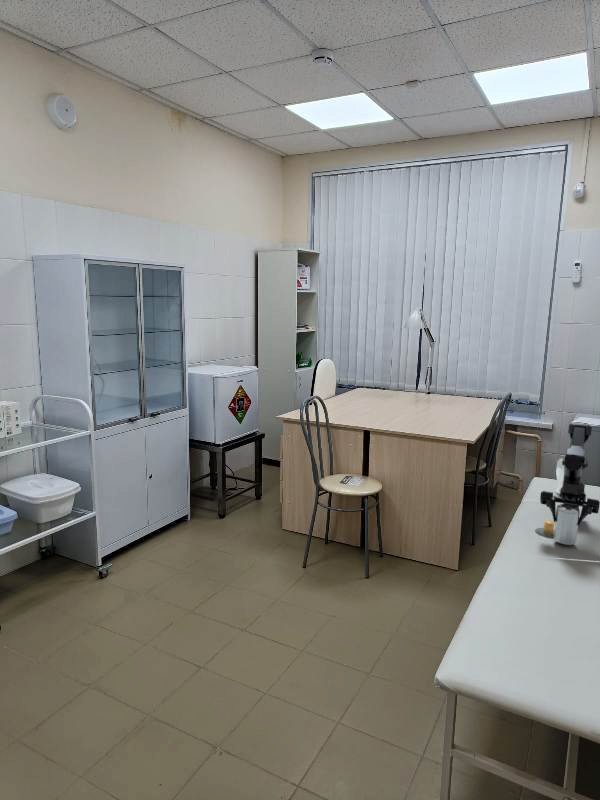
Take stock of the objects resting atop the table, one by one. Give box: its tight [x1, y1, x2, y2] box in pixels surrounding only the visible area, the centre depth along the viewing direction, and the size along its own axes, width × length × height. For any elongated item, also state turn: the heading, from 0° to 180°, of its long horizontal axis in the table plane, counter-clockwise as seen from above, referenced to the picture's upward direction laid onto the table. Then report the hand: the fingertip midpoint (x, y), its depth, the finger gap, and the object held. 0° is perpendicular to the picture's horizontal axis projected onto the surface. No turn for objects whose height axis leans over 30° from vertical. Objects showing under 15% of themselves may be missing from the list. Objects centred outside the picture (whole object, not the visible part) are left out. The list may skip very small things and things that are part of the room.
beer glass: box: [554, 457, 564, 495], centre depth 246 cm, size 7×7×15 cm
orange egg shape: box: [543, 520, 555, 535], centre depth 203 cm, size 3×3×4 cm
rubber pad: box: [534, 527, 555, 539], centre depth 204 cm, size 9×9×1 cm
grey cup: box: [553, 503, 581, 546], centre depth 193 cm, size 7×7×12 cm
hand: (566, 523), depth 192 cm, fingers closed on grey cup, 7 cm apart
